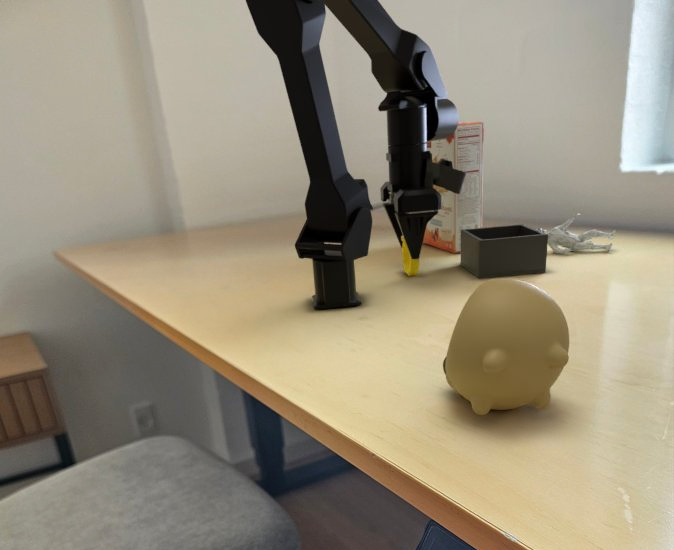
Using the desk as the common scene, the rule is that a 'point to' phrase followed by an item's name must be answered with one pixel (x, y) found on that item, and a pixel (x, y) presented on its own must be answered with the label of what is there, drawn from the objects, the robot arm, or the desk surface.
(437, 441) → the desk surface
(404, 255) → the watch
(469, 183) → the cracker box
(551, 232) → the soldier figure
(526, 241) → the basket
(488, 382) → the toy pig
